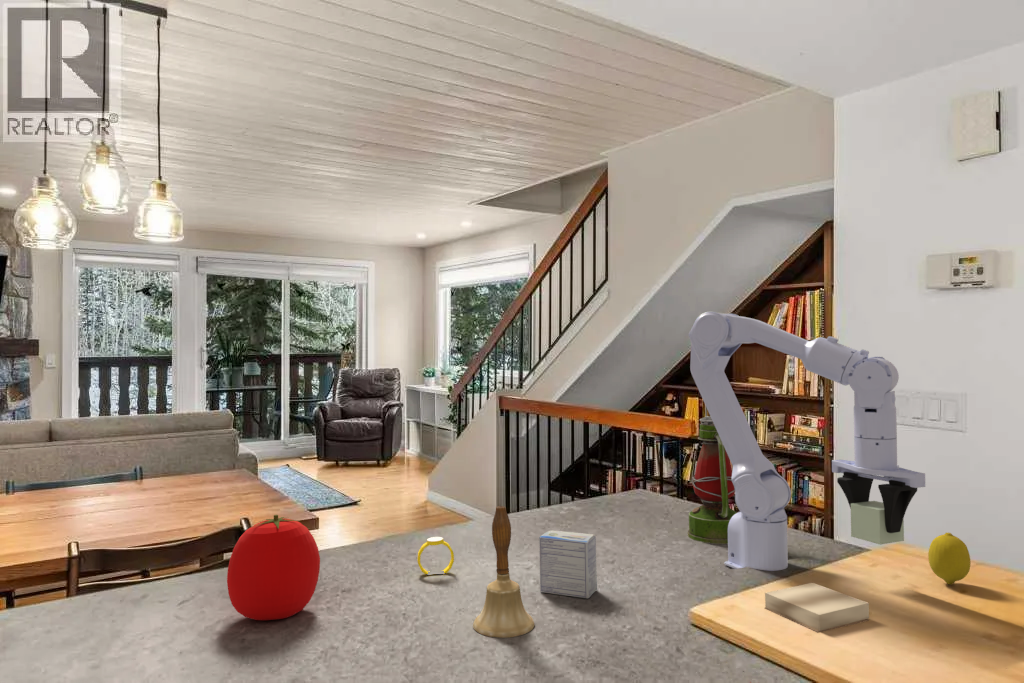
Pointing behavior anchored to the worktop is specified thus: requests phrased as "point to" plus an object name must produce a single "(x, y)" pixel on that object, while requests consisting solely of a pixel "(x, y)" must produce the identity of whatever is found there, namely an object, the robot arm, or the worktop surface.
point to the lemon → (949, 558)
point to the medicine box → (568, 563)
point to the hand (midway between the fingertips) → (876, 527)
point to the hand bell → (503, 590)
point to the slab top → (817, 606)
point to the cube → (872, 523)
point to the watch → (435, 542)
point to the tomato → (273, 569)
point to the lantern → (711, 488)
